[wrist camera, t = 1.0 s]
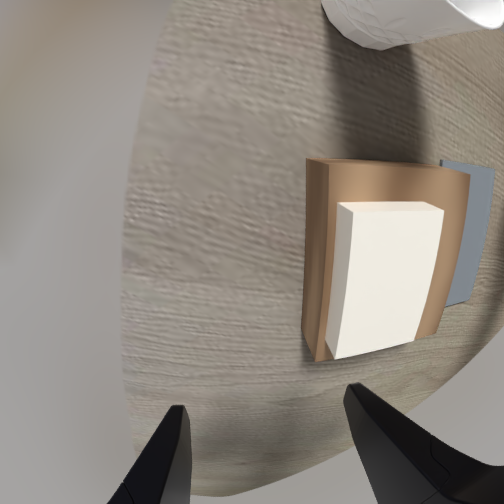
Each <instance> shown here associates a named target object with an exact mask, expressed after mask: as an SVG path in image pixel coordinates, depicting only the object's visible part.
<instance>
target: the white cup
mask: <svg viewBox="0 0 504 504" xmlns="http://www.w3.org/2000/svg"><path fill="white" fill-rule="evenodd" d="M321 3H322V6H323V8H324V10H325V12H326V15H327V17H328V19H329V21H330V22H331V23H332V24H333V25H334V26H335V27H336V28H337V29H338V30H339V31H340V33H341V34H342V35H343V36H344V37H346V38H348V39H350V40H352V41H353V42H355V43H357V44H359V45H360V46H362V47H365V48H371V49H377V50H385V49H388V48H392V47H395V46H398V45H403V44H414V43H417V42H423V41H429V40H433V39H437V38H442V37H447V36H453V35H458V34H464V33H470V32H478V31H486V30H495V29H498V28H500V27H501V26H502V24H503V23H504V2H503V0H322V2H321Z"/></svg>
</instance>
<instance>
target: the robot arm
mask: <svg viewBox="0 0 504 504" xmlns="http://www.w3.org/2000/svg"><path fill="white" fill-rule="evenodd" d="M343 403H344V407H345V411H346V415H347V419H348V422H349V426H350V430H351V434H352V438H353V441H354V444H355V446H356V449H357V451H358V454H359V456H360V459H361V461H362V464H363V466H364V469H365V471H366V474H367V476H368V479H369V482H370V484H371V487H372V489H373V492H374V494H375V497H376V500H377V502H378V504H504V466H492V465H488V464H485V463H482V462H480V461H478V460H475V459H474V458H472V457H470V456H467V455H465V454H463V453H461V452H459V451H458V450H456V449H454V448H452V447H450V446H449V445H447V444H445V443H444V442H442V441H441V440H439V439H438V438H436V437H435V436H433V435H431V434H430V433H429V432H428V431H426V430H425V429H423V428H422V427H420V426H419V425H417V424H416V423H415V422H413V421H412V420H410V419H409V418H408V417H406V416H405V415H403V414H402V413H401V412H399V411H398V410H397V409H395V408H394V407H392V406H391V405H390V404H388V403H387V402H386V401H384V400H383V399H381V398H380V397H379V396H377V395H376V394H375V393H373V392H372V391H371V390H369V389H368V388H367V387H365V386H364V385H363V384H361V383H359V382H356V383H352V384H349V385H348V386H347V388H346V392H345V395H344V399H343ZM191 473H192V451H191V433H190V420H189V417H188V414H187V411H186V408H185V406H184V405H172V406H171V407H170V409H169V410H168V412H167V413H166V415H165V416H164V418H163V420H162V421H161V423H160V424H159V426H158V427H157V429H156V431H155V432H154V434H153V435H152V437H151V438H150V440H149V441H148V443H147V445H146V446H145V448H144V449H143V451H142V452H141V454H140V455H139V457H138V459H137V460H136V462H135V463H134V465H133V466H132V468H131V469H130V471H129V472H128V474H127V475H126V477H125V479H124V480H123V482H124V483H121V484H120V486H119V488H118V489H117V491H116V492H115V493H114V495H113V496H112V498H111V499H110V500H109V502H108V503H107V504H190V489H191Z"/></svg>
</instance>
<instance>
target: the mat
mask: <svg viewBox="0 0 504 504" xmlns="http://www.w3.org/2000/svg"><path fill="white" fill-rule="evenodd" d="M440 166H441V167H445V168H449V169H453V170H456V171H460V172H464V173H467V174H471V176H470V187H469V197H468V205H467V212H466V219H465V225H464V231H463V236H462V241H461V246H460V251H459V256H458V260H457V264H456V269H455V273H454V277H453V280H452V284H451V288H450V291H449V295H448V298H447V301H446V305H445V307H446V306H449V305H453V304H456V303H460V302H463V301H467V300H469V299H470V295H471V292H472V289H473V286H474V282H475V279H476V275H477V272H478V268H479V264H480V260H481V256H482V252H483V247H484V243H485V238H486V233H487V228H488V222H489V216H490V210H491V202H492V195H493V186H494V175H495V169H493V168H488V167H482V166H477V165H471V164H466V163H459V162H453V161H446V160H440Z"/></svg>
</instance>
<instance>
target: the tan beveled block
mask: <svg viewBox="0 0 504 504" xmlns="http://www.w3.org/2000/svg"><path fill="white" fill-rule="evenodd" d="M470 176H471V174H467V173H464V172H460V171H456V170H453V169H449V168H445V167H441V166H437V165H429V164H419V163H408V162H396V161H381V160H362V159H331V158H306V239H305V268H304V289H303V307H302V323H301V329H302V332H303V334H304V337H305V339H306V341H307V344H308V346H309V349H310V351H311V353H312V356H313V358H314V361H315V362H318V361H324V360H329V359H334V357H333V355H332V353H331V351H330V349H329V347H328V345H327V343H326V341H325V336H326V328H327V321H328V312H329V304H330V294H331V285H332V274H333V263H334V250H335V235H336V217H337V203H339V202H426V203H428V204H430V205H433V206H435V207H437V208H440V209H442V210H444V216H443V223H442V230H441V236H440V241H439V247H438V252H437V257H436V262H435V266H434V271H433V275H432V279H431V284H430V288H429V291H428V295H427V299H426V303H425V306H424V310H423V313H422V316H421V320H420V323H419V326H418V329H417V332H416V335H415V338H414V340H415V339H418V338H422V337H425V336H428V335H432V334H435V333H436V331H437V329H438V326H439V323H440V320H441V317H442V314H443V311H444V308H445V305H446V301H447V298H448V295H449V291H450V288H451V284H452V280H453V277H454V273H455V269H456V264H457V260H458V256H459V251H460V246H461V241H462V236H463V231H464V225H465V219H466V212H467V205H468V197H469V187H470Z"/></svg>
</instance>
